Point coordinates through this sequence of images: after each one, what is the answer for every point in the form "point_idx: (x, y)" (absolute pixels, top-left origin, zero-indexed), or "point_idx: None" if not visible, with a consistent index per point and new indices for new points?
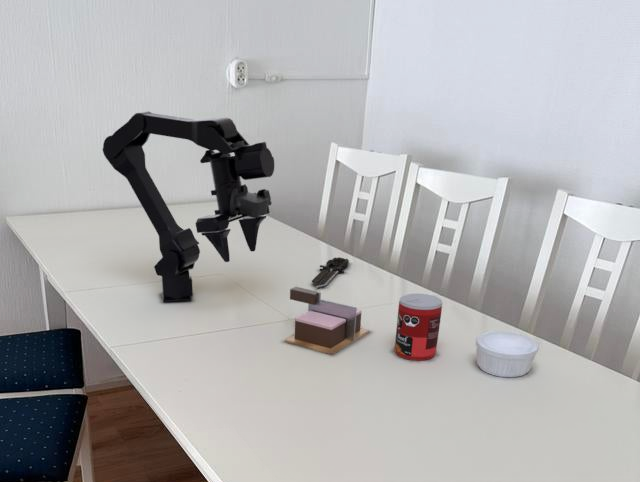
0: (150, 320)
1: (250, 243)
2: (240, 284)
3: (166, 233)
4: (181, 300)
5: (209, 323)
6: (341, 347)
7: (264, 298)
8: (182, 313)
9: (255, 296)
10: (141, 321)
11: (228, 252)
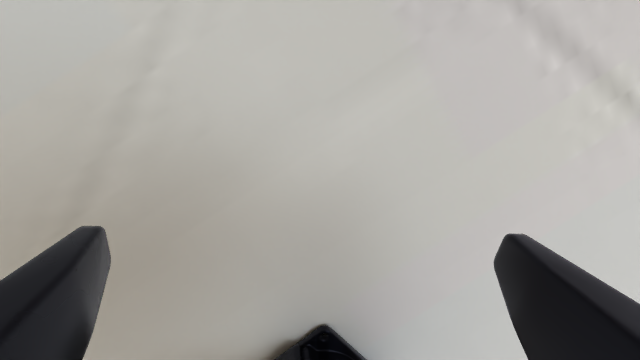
0: None
1: (77, 316)
2: None
3: None
4: (348, 346)
5: (503, 132)
6: None
7: (89, 109)
8: (448, 273)
9: (97, 160)
10: None
11: (574, 283)
